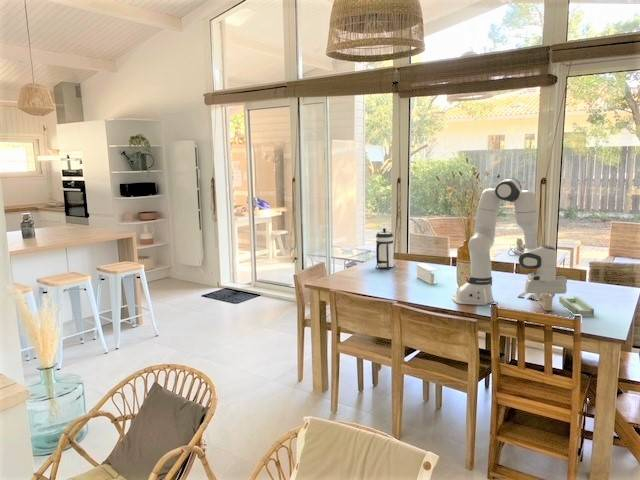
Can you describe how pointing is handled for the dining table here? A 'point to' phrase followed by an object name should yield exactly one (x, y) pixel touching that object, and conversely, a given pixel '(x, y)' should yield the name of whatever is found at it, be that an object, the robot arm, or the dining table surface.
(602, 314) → the dining table surface
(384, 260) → the coffee press
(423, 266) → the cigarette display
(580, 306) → the green rectangular tray
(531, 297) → the crown molding
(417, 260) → the dining table surface
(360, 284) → the dining table surface
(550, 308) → the tan rectangular block
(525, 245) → the robot arm
